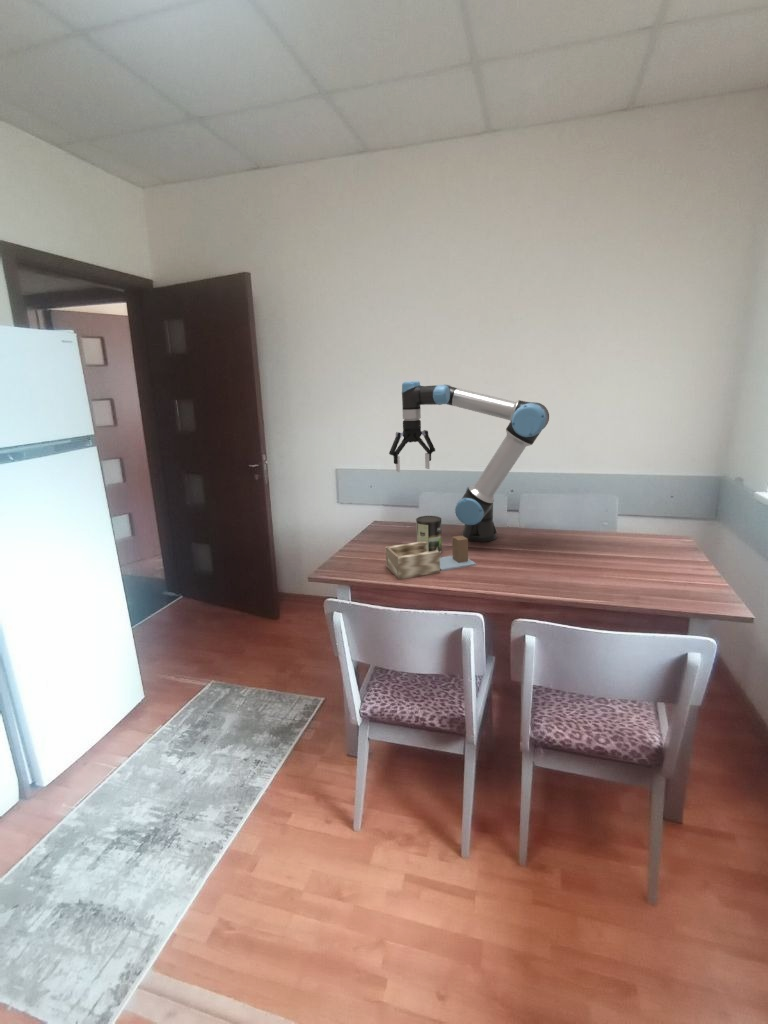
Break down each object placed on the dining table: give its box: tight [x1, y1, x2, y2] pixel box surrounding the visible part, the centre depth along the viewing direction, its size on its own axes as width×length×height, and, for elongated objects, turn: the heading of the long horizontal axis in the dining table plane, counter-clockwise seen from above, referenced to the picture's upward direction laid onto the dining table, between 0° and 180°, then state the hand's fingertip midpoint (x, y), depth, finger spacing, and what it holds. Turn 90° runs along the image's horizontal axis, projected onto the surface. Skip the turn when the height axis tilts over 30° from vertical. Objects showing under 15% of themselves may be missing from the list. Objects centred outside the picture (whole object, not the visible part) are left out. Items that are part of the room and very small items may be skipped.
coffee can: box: [415, 515, 443, 554], centre depth 198 cm, size 10×10×14 cm
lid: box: [440, 535, 477, 572], centre depth 184 cm, size 14×12×10 cm
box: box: [385, 541, 441, 580], centre depth 179 cm, size 16×14×8 cm
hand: (412, 470), depth 206 cm, fingers open, 13 cm apart
